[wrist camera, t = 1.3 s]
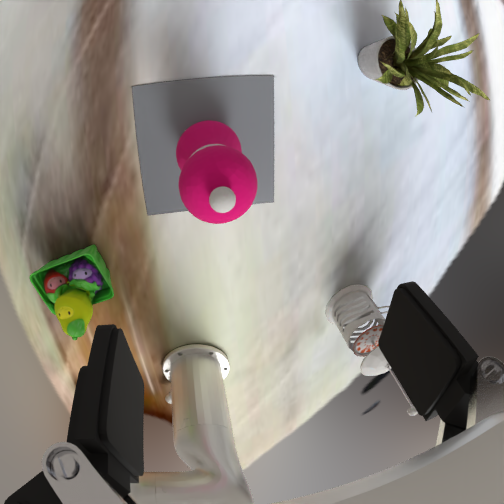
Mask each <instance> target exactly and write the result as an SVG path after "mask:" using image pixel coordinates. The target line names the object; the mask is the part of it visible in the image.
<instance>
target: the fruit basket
mask: <svg viewBox="0 0 504 504" xmlns="http://www.w3.org/2000/svg"><path fill="white" fill-rule="evenodd" d="M30 281H31V283H32V284H33V286H34V287H35V289H36V290H37V292H38V293H39V295H40V296H41V298H42V299H43V301H44V302H45V304H46V305H47V307H48V308H49V309H50V311H51V312H52V313H53V314H55V315H56V316H57V318H58V320H59V322H60V323H61V326H62V329H63V331H64V332H65V333H66V334H67V335H69V336H71V337H72V339H73V340H77V337H81V336H83V335H84V333H85V331H86V329H87V325H88V323H89V321H90V320H91V317H92V313H93V307H92V305H93V304H96V303H99V302H102V301H105V300H108V299H111V298H113V296H114V292H113V288H112V286H111V278H110V271H109V270H108V269H107V268H106V264H105V262H104V260H103V258H102V257H101V255H100V253H99V252H98V251H97V247H96V245H91V246H88V247H86V248H85V249H81V250H78V251H75V252H73V253H72V254H71V255H65V256H63V257H60V258H59V259H57V260H53V261H50V262H49V263H47V264H46V265H45V266H43V267H42V268H41V269H39V270H38V271H35V272H34V273H32V274H31V275H30Z"/></svg>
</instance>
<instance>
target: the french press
mask: <svg viewBox="0 0 504 504" xmlns="http://www.w3.org/2000/svg"><path fill="white" fill-rule="evenodd" d="M385 307H390V306H383V307H377V306H376V304H375V303H374V302H373V300H372V291H371V290H370V289H369V288H368V287H367V286H364V285H361V284H357V285H350V286H348V287H346V288H344V289H342V290H340V291H339V292H338V293H336V294H335V295H334V296H333V297H332V298H331V300H330V301H329V303H328V304H327V307H326V312H325V315H326V318H327V320H328V321H329V322H330V323H332V324H334V325H337V327H338V329H339V330H340V332H341V334H342V336H343V338H344V339H345V341H346V343H347V345H348V347H349V348H350V349H351V350H352V351H354V354H356V355H357V356H363V357H365V356H366V357H365V358H364V359H363V361H362V364H361V373H362V374H364V375H365V376H375V375H379V374H382V373H385V372H387V371H388V370H389V371H390V372H391V374H392V375H393V373H392V371H391V370H390V369H391V367H390V365H389V363H388V362H387V360H386V358H385V357H384V355H383V354H382V352H381V350H380V348H379V345H378V341H379V338H380V335H381V332H382V329H383V326H384V323H385V319H384V317H383V316H382V315H381V314H383V313H388V311H386V312H380V311H379V310H378V309H380V308H385ZM377 308H378V309H377ZM371 313H372V314H371ZM373 319H375V322H374V325H373V326H372V327H371V328H369V329H368V330H366V331H365V332H363V333H353V332H354V331H360V330H365V329H367V328H368V327H370V325H371V323H372V322H373ZM367 321H370V322H369V323H368V325H366V326H364V327H363V328H358V327H359V326H361V325H363V324H365V323H366V322H367ZM377 322H378V326H376V324H377ZM343 327H345V328H344V329H343ZM359 335H360V336H359ZM350 336H359V337H358V338H350ZM352 340H356V341H355V343H351V342H350V341H352ZM393 377H394V379H395V380H396V378H395V376H394V375H393ZM396 382H397V380H396ZM397 384H398V386H399V387H400V389H401V391H402V392H403V394H404V396H405V397H406V395H405V393H404V391H403V390H402V388H401V386H400V385H399V383H398V382H397ZM406 399H407V401H408V403H409V404H410V406H411V408H409V409H408V411H407V413H408V414H409V415H410V416H414V415H416V414H418V412H417V410H416V409H415V407H414V406H412V405H411V403H410V401H409V400H408V398H407V397H406Z"/></svg>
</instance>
